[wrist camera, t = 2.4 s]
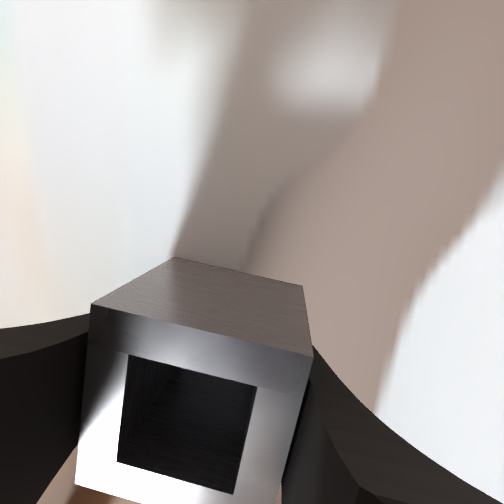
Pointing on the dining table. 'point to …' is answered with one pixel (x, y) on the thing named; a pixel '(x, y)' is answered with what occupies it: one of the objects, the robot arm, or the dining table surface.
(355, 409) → the robot arm
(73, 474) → the shaft block
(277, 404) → the collar
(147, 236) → the dining table surface
